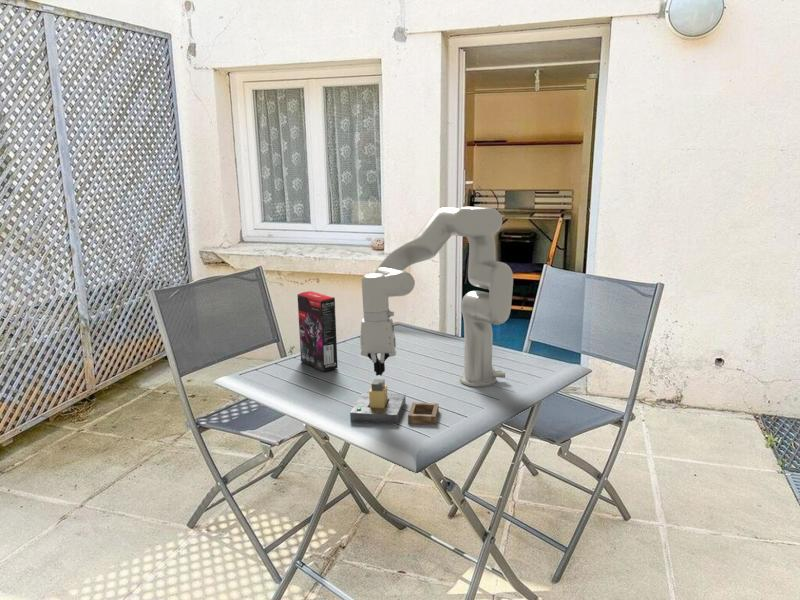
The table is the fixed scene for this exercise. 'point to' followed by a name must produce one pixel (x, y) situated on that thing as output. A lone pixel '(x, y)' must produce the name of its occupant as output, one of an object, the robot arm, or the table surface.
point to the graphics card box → (317, 330)
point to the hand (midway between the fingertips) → (379, 373)
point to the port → (378, 410)
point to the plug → (378, 394)
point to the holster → (423, 418)
